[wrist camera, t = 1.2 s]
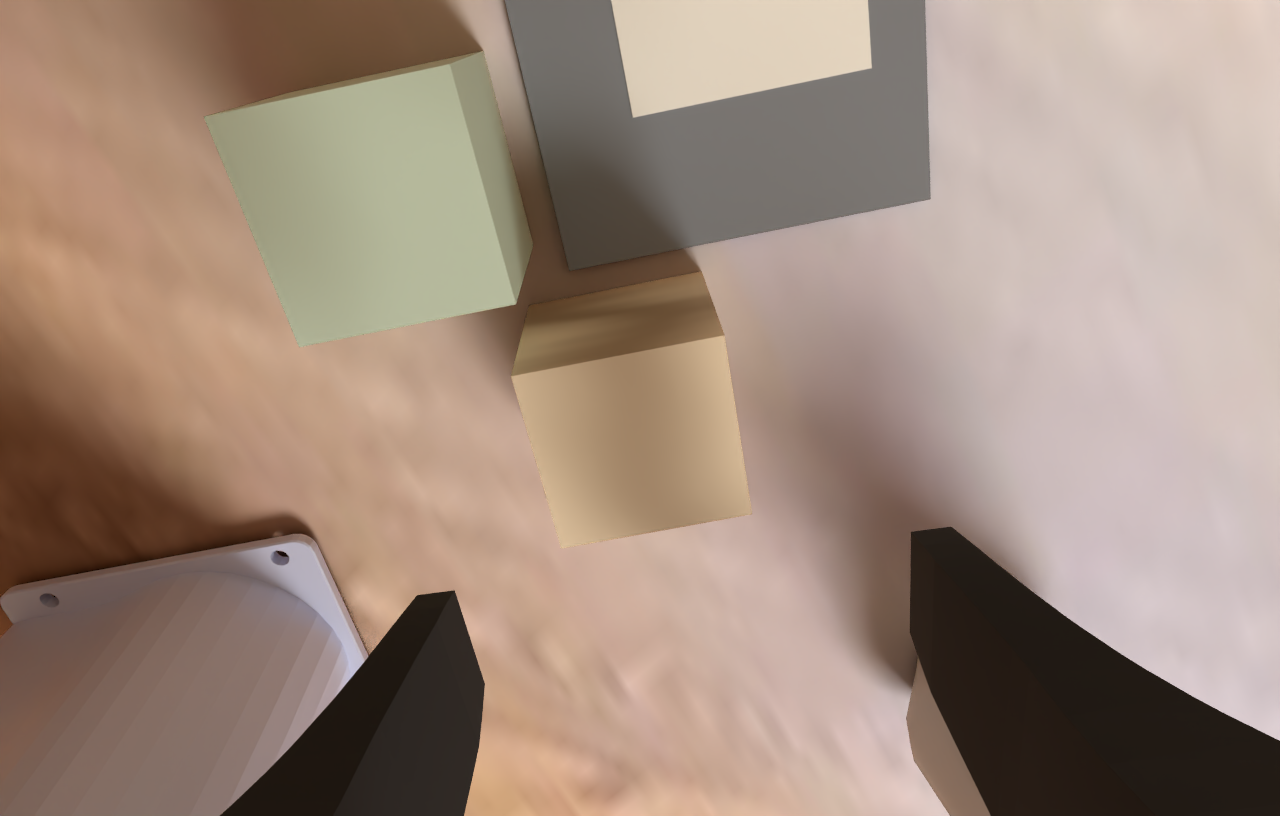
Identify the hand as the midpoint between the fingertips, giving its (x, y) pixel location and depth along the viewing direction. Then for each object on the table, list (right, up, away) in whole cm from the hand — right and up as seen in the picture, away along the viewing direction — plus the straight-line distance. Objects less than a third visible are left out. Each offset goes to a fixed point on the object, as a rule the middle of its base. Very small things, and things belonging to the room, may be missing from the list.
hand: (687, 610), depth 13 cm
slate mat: (+1, +12, +5) cm, 13 cm away
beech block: (-1, +4, +9) cm, 10 cm away
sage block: (-6, +9, +6) cm, 12 cm away
